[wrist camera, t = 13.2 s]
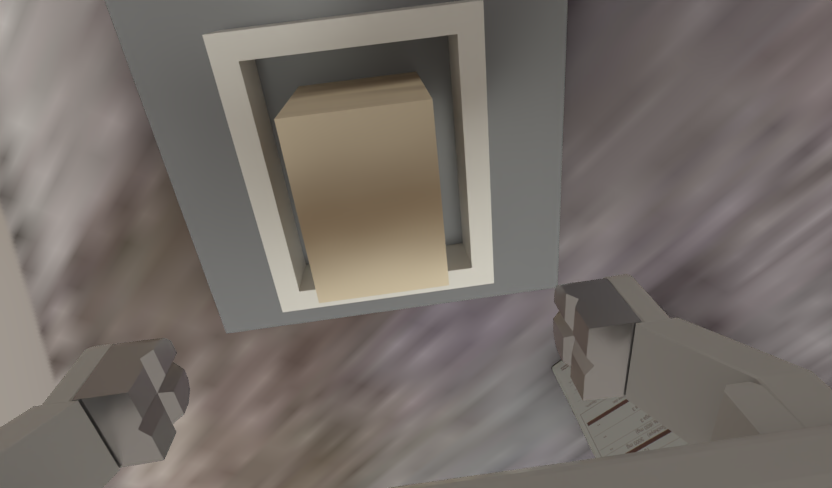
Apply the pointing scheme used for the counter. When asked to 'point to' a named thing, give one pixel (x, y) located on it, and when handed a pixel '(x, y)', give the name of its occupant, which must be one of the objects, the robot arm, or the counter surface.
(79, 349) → the counter surface
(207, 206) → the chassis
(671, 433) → the supplement box
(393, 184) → the tan cardboard carton
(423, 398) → the counter surface
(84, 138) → the counter surface
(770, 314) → the counter surface
